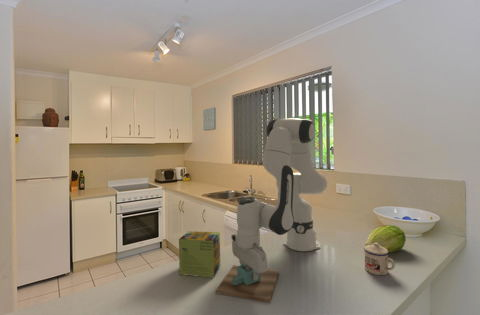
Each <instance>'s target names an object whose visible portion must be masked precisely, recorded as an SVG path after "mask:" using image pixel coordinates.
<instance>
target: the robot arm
mask: <svg viewBox="0 0 480 315" xmlns="http://www.w3.org/2000/svg"><path fill="white" fill-rule="evenodd" d="M267 123H268V124H267V125H266V136H267V139H266V142H265V145H264V149H263V150H264V151H263V156H262V165H263V167H264V169H265V170H266V172H267V173H269V174H270V175H272V176H273V177H274V178H275V180H276V182H275V183H276V188H277V202H276V205H274V204H270V203H266V202H264V201H261V200H259V199H258V198H257V197H254V196H248V197H244V198H241V199H240V200H239V201H238V203H237V207H236V224H237V230H236V232H235V233H232V234H231V240H232V241H231V250H232V254H233V256H234V257H236V258H237V259H238V260H239V263H240V264H239V266H240V265H243V264H246V265H248V266H249V267H250V268H252V269H253V272H254V274H252V279H253V280H257V279H258V274H262V273H265V272H266V271H267V270H269V269H268V258H267V253H266V251H265V250H264V248H263V247H262V246H260V244H261V237H260V236H261V234H260V232H261V231H260V229H261V228H263V229H266V230H269V231H271V232H273V233H275V234H276V235H278V236H283V235H285V234H286V240H284V241H283V246H285V247H287V248H289V249H291V250H293V251H298V252H310V251H312V252H313V251H314V250H318V249H321V245H320V243H319V241H318V239H317V232H316V230H315V229H314V220H313V206H312V205H311V203H310V202H309V201H307V200H305V199H303V198H302V196H301V195H321V194H323V193H325V191H326V189H327V187H328V182H327V179H326V176H324V175H323V174H321V173H320V172H319V171H318V169H316V168H315V167H314V165H313V162H312V156H311V144H310V143H311V141H312V140H313V139H314V137H315V133H316V132H315V131H316V130H315V129H316V128H315V124H314V122H312V120H311V119H307V118H303V119H301V118H280V119H279V118H275V119H271V120H270V121H269V122H267ZM293 169H294V170H296V171H297V172H294V170H293Z"/></svg>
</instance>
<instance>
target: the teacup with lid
mask: <svg viewBox="0 0 480 315" xmlns="http://www.w3.org/2000/svg"><path fill="white" fill-rule="evenodd" d="M363 250H364V269H365V271H366V272H368V273H370V274H373V275H377V276H386V275H387V274H388V273H389V271H393V270H394V269H395V266H396V263H395V261H394V260H393V258H390V257H389V253H390V252H388V250H387V249H386V248H384V247H381V246H380V245H379V244H378V243H374V244H373V245H368V246H365V245H364V248H363ZM389 262H390V263H391V267H389Z"/></svg>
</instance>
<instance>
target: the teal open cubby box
mask: <svg viewBox="0 0 480 315" xmlns="http://www.w3.org/2000/svg"><path fill="white" fill-rule="evenodd" d="M245 265H246V264H243V265H240V264H239V265H236V266H237V277H236V278H233V279H232V284H233V285H234V286H235V285H238V284H241V283H244V284H246V285H249V284H252V283H255V282H257V281H260V280H261V274H258V279H257V280H253V279H252V274H254V272H253V270H250V271H246V270H245Z"/></svg>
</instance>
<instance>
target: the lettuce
mask: <svg viewBox="0 0 480 315" xmlns="http://www.w3.org/2000/svg"><path fill="white" fill-rule="evenodd" d="M406 240H407V238H406V234H405V232H404V231H403V229H401V228H400V227H398V226H396V225H392V224H385V225H384V226H383V225H382V226H379V227H377V228H375V229H373V230H372V231H371V232H370V234H369V235H368V237H367V239H366V242H365V245H364V247H365V246H368V245H373V244H374V243H378V244H379V245H380V246H381V247H384V248H386V249H387V250H388V252H389V253H395V252H398V251H400V250H401V249H402V248H404V246H405V244H406Z"/></svg>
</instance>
